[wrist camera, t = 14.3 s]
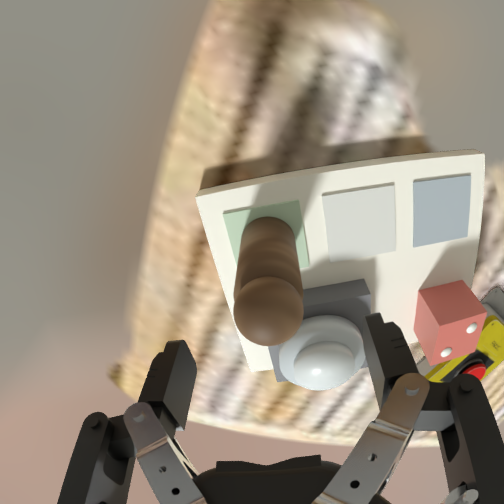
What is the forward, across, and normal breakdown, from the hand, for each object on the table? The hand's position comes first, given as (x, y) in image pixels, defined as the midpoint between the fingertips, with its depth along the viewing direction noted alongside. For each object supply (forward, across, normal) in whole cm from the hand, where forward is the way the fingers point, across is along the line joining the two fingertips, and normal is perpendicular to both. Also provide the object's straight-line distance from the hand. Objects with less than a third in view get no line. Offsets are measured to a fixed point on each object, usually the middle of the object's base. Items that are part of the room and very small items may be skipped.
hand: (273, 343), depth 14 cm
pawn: (+9, 0, 0) cm, 9 cm away
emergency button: (+12, -19, +18) cm, 29 cm away
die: (+10, -13, +9) cm, 19 cm away
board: (+11, -6, +4) cm, 13 cm away
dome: (+9, -2, +8) cm, 12 cm away
